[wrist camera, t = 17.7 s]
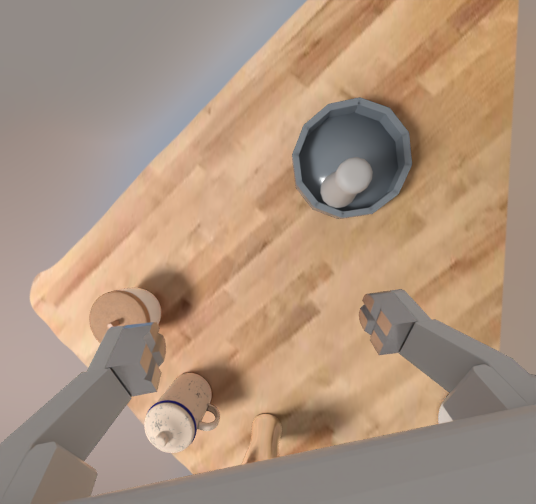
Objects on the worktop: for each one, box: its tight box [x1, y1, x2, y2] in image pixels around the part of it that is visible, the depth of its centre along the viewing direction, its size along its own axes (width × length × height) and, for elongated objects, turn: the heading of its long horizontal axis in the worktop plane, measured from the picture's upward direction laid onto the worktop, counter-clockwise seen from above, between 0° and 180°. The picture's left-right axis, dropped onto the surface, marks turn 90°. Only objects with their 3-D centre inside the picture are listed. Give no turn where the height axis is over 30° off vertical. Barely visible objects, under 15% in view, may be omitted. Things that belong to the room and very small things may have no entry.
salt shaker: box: [321, 157, 373, 208], centre depth 34 cm, size 6×6×13 cm
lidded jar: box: [90, 288, 161, 343], centre depth 43 cm, size 11×11×9 cm
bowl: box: [292, 98, 412, 219], centre depth 39 cm, size 18×18×4 cm
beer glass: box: [241, 414, 282, 465], centre depth 39 cm, size 7×7×15 cm
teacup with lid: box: [144, 373, 220, 453], centre depth 42 cm, size 12×9×12 cm
